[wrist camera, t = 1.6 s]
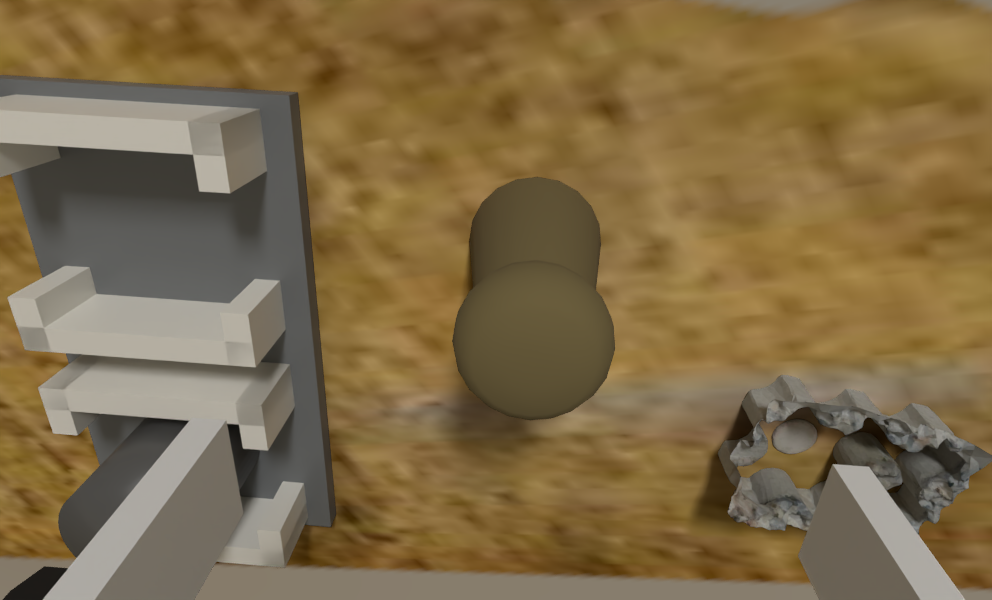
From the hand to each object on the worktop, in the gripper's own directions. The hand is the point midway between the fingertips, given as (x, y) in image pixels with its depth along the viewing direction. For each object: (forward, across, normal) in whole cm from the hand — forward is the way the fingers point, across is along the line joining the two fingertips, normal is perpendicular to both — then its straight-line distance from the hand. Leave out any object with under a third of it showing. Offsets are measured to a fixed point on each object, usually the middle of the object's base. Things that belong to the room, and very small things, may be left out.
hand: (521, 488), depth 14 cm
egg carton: (+16, -16, +10) cm, 25 cm away
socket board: (+16, +17, +6) cm, 24 cm away
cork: (+16, 0, 0) cm, 16 cm away
